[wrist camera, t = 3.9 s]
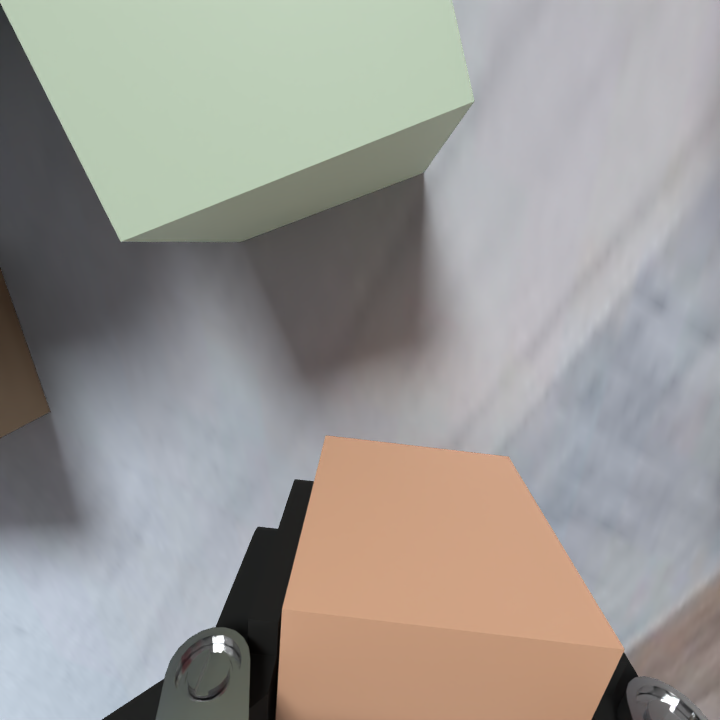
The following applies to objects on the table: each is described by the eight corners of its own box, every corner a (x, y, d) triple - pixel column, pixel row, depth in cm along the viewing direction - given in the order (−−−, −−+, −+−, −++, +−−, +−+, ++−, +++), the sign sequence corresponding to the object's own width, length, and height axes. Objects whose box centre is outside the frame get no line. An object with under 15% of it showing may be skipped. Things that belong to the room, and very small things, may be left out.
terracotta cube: (325, 435, 10) (282, 609, 5) (508, 456, 10) (625, 649, 5) (313, 575, 12) (271, 803, 7) (471, 594, 12) (536, 836, 7)
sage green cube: (152, 26, 9) (-123, -239, 4) (357, -72, 8) (331, -541, 3) (242, 242, 10) (120, 242, 5) (423, 173, 9) (474, 100, 5)
